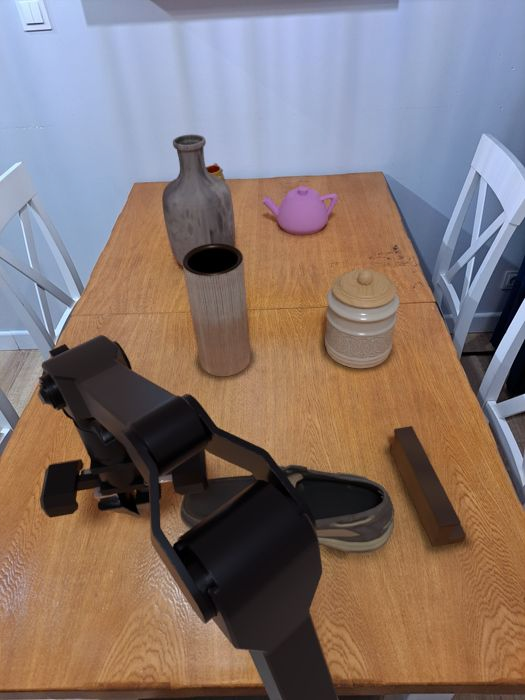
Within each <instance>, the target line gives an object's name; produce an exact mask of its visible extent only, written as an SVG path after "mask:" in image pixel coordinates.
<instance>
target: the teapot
mask: <svg viewBox="0 0 525 700" xmlns="http://www.w3.org/2000/svg"><path fill="white" fill-rule="evenodd" d="M338 198H339V197H338V194H337V193H327V194H324V195H322V196H321V195H320V193H319V192H318V191H317V190H316V189H314V188H309V187H308V186H306V185H301V186H298V187H297V188H293V189H291V190H289V191H288V192H287V193H286V195H285V196H284V198H283V199H282V201H281V202H280V205H279V207H278V205H277V204H276V203H275V202H274V201H273V200H272V198H271V197H270V196H266V197H264V198H263V200H262V204H263V205H264V206H265V207H266V208H267V209H268V211H270V213H272V214H273V215H274V217H275V218H276V221H277V223H278V226H280V228H281V229H283V231H284V232H286V233H289V234H291V235H295V236H296V235H297V236H307V235H314V234H316V233H318V232H320V231H322V229H323V228H324V227H325V226H326V225H327V223H328V221H329V216H330V214H331V213H332V211H333V209H334V208H335V206H336V205H337V204H338V203H337V202H338ZM326 200H330V203H329V206H328V208H327V205H326V203H325V201H326Z"/></svg>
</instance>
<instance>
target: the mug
mask: <svg viewBox="0 0 525 700" xmlns="http://www.w3.org/2000/svg"><path fill="white" fill-rule="evenodd" d="M206 169H207V171H208V172H209V173H210V174H211V175H214V176H216V177H219V178H220V179H222V180H223V181H225V182H226V178H225V176H224V173H223V172H224V169H223V168H221V166H220V165H219V164H218V163H216V162H213V164H210V165H208V166H206Z"/></svg>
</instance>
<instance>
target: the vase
mask: <svg viewBox="0 0 525 700" xmlns="http://www.w3.org/2000/svg"><path fill="white" fill-rule="evenodd" d="M206 144H207V143H206V137H204V136H203V135H200V134H183V135H179V136H176V138H174V139H173V140H172V146H173V148H174V149H175V150H176V152H177V157H178V163H179V173H178V175H177V177H176V178H174V179H173V180H171V181H170V182H169V183H168V184H167V185H166V186H165V187H164V188H163V191H162V198H161V199H162V202H161V204H162V211H163V212H162V213H163V218H164V219H163V220H164V224H165V229H166V233H167V234H166V235H167V239H168V242H169V245H170V249H171V252H172V254H173V257H174V258H175V261H176V262H177V263H178V264H179V265H181V266H182V267H183V264H182V262H183V258H184V256H185V255H186V254H187V253H188V252H189V251H191V250H192V249H194V248H196V247H199V246H202V245H206V244H214V243H220V244H227V245H231V246H233V247H235V248H236V246H235V245H236V226H235V225H236V223H235V222H236V221H235V213H234V202H233V197H232V191H231V190H230V187H229V185H228V183H226V180H225V181H223V180H222V179H220V178H219V177H216V176H214V175H211V174H210V173H209V172H208V171H207V169H206V167H207V166H206V162H205V153H204V148H205V146H206Z"/></svg>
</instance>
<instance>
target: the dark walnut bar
mask: <svg viewBox="0 0 525 700" xmlns="http://www.w3.org/2000/svg"><path fill="white" fill-rule="evenodd" d="M393 434H394V436H393V438H392V444H391V449H390V453H391V456H392V458H393V460H394V462H395V465H396V467H397V469H398V471H399V474H400V477H401V478H402V481H403V483H404V485H405V487H406V490H407V492H408V494H409V496H410V499H411V501H412V503H413V506H414V508H415V511H416V513H417V515H418V517H419V519H420V522H421V524H422V526H423V528H424V531H425V532H426V535H427V537H428V539H429V542H430V544H431V546H432V548H437V547H443V546H448V545H452V544H458V543H459V544H460V543H464V542H465V539H466V538H467V534H466V533H465V531H464V528H463V527H462V525H461V520H460V518H459V516H458V514H457V512H456V510H455V508H454V506H453V504H452V502H451V500H450V498H449V496H448V494H447V492H446V490H445V489H444V486H443V485H442V482H441V480H440V479H439V477H438V475H437V473H436V471H435V469H434V467H433V465H432V463H431V461H430V459H429V457H428V455H427V453H426V451H425V449H424V447H423V445H422V443H421V440H420V439H419V437H418V436H417V433H416V432H415V429H414V427H413V426H412V425H409V426H402V427H396V428H394V429H393Z"/></svg>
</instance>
